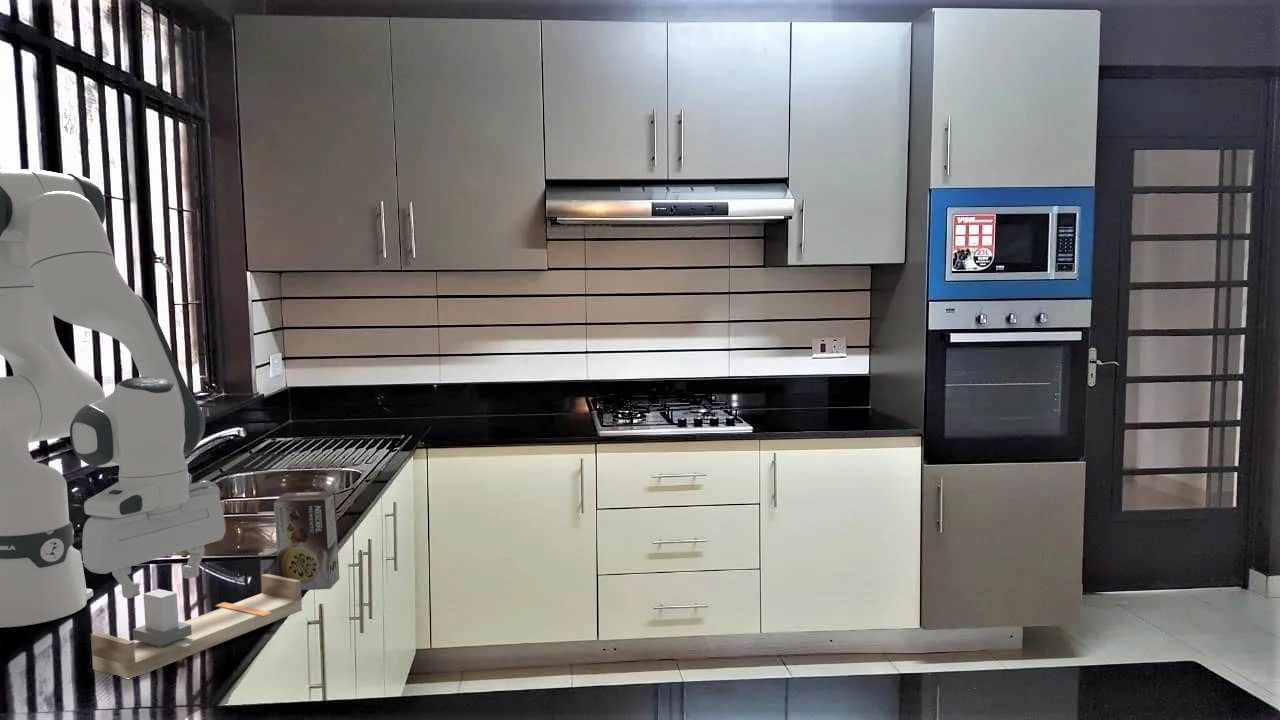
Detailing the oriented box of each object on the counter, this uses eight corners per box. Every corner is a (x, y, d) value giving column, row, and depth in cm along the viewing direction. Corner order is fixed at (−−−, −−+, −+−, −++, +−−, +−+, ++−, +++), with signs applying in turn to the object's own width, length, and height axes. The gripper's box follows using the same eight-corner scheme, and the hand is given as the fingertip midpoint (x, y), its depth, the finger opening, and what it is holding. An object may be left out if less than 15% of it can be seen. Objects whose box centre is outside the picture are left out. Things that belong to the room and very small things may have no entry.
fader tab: (133, 639, 138) (130, 595, 137) (164, 628, 142) (162, 585, 142) (160, 646, 135) (157, 601, 134) (191, 634, 139) (189, 591, 139)
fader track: (86, 667, 134) (84, 632, 134) (261, 601, 161) (259, 572, 160) (136, 681, 129) (134, 646, 129) (308, 611, 156) (307, 581, 155)
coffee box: (340, 578, 173) (336, 490, 171) (330, 590, 166) (326, 498, 165) (289, 579, 172) (285, 491, 171) (277, 591, 166) (272, 500, 164)
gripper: (203, 476, 147) (210, 564, 148) (71, 505, 129) (80, 605, 130) (231, 478, 144) (238, 569, 145) (100, 509, 126) (108, 611, 127)
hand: (162, 586), depth 138 cm, fingers open, 8 cm apart
